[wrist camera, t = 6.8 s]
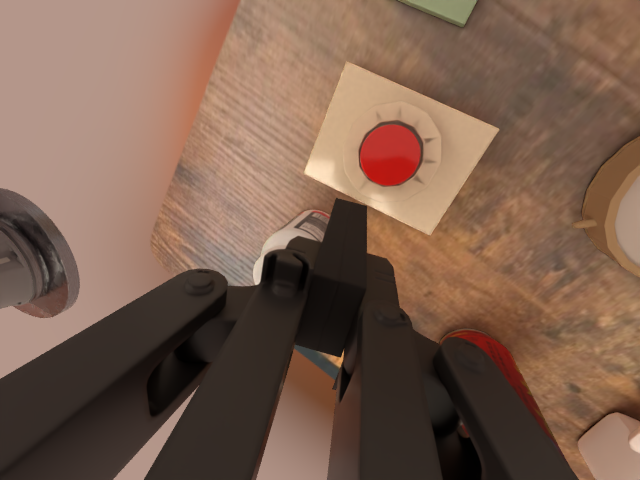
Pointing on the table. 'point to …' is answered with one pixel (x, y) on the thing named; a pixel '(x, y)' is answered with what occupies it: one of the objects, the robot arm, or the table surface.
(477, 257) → the table surface
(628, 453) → the power adapter
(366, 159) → the button
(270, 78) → the table surface
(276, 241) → the pill bottle
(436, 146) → the control block
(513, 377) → the soda can
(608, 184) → the alarm clock
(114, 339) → the robot arm
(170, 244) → the table surface
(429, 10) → the mat
